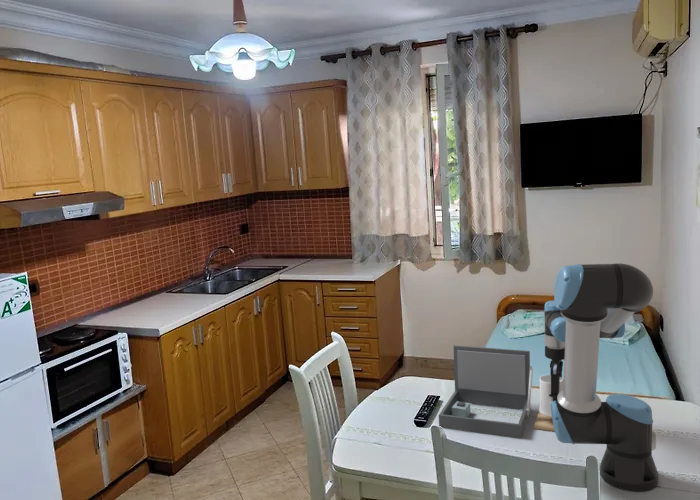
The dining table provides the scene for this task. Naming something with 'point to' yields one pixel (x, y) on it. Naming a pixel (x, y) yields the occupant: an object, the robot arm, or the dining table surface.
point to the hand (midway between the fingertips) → (556, 408)
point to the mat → (544, 423)
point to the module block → (461, 409)
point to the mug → (547, 394)
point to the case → (490, 388)
